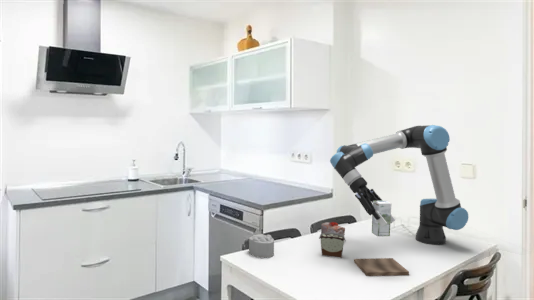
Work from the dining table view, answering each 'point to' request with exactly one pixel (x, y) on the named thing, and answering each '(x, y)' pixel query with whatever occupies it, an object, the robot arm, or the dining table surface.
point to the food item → (332, 228)
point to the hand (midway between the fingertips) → (389, 223)
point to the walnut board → (380, 267)
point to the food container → (332, 244)
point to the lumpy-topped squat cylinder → (261, 246)
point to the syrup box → (385, 212)
